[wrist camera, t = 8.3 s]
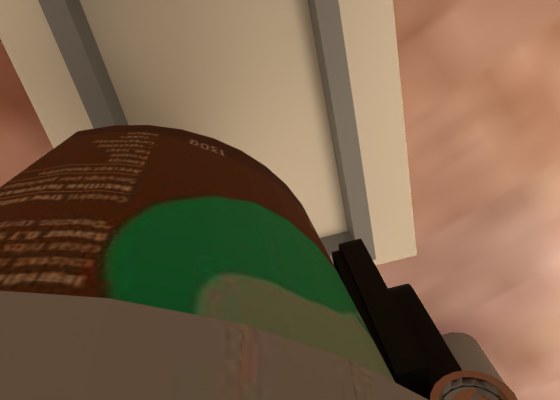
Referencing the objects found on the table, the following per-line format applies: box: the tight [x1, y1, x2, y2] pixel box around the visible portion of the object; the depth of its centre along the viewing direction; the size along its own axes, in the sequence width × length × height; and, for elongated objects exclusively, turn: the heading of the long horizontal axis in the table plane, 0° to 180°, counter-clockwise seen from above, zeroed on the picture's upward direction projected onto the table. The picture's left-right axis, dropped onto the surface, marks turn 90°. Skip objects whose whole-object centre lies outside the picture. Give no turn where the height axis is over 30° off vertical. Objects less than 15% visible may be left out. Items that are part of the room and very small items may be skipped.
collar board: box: [0, 0, 417, 265], centre depth 24 cm, size 22×18×3 cm
